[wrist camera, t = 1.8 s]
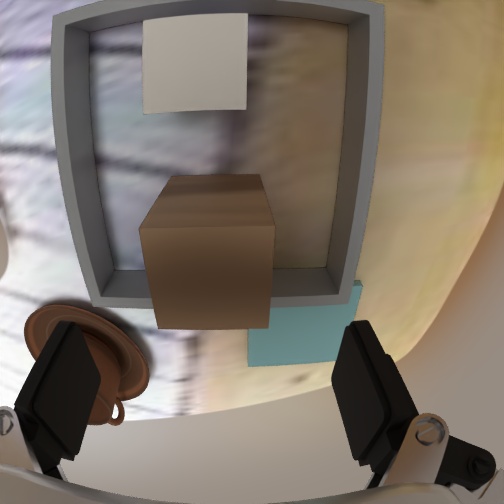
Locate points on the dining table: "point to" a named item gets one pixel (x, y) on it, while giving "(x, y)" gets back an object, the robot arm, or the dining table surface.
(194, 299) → the walnut block
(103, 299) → the grey square frame
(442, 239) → the dining table surface
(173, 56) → the pale grey block
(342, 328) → the pad
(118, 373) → the cup and saucer
